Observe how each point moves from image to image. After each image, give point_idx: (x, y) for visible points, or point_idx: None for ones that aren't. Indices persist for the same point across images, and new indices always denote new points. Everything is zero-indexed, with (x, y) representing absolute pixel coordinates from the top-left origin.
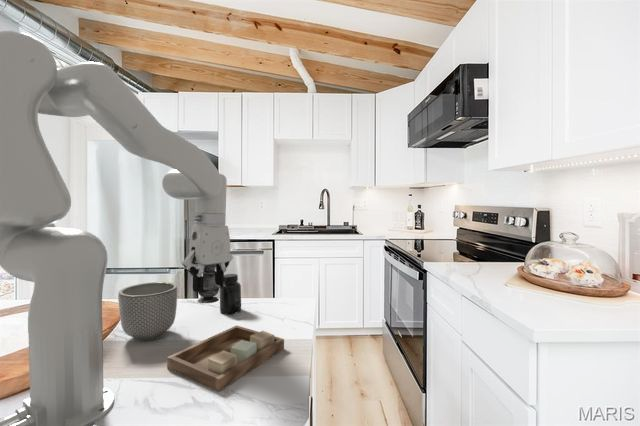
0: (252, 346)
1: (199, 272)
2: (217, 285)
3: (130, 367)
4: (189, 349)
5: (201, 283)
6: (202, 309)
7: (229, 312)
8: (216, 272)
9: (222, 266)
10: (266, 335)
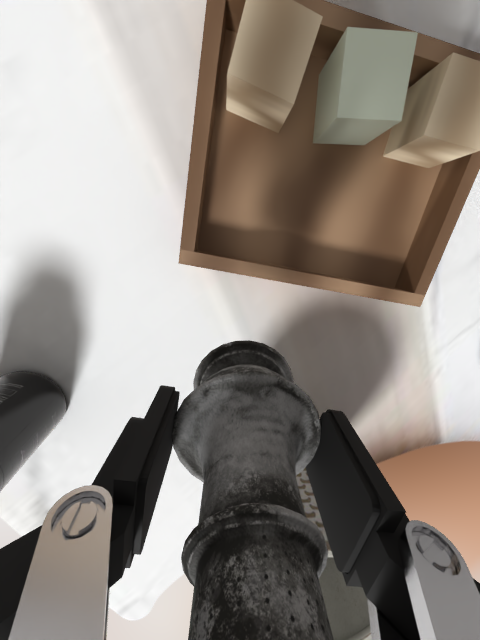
0: (377, 29)
1: (460, 578)
2: (216, 403)
3: (394, 376)
4: (371, 285)
5: (370, 455)
6: (76, 471)
7: (54, 387)
8: (140, 537)
9: (88, 586)
10: (269, 18)
